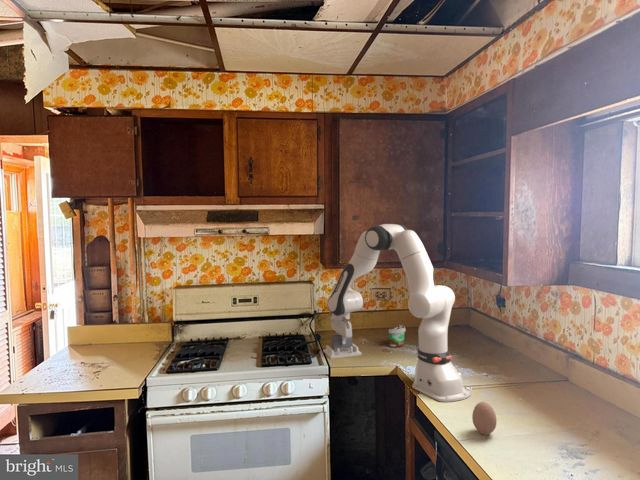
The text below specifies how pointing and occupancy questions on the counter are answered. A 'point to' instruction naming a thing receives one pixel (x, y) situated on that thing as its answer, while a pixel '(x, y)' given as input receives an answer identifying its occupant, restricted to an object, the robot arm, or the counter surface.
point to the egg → (484, 418)
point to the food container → (397, 336)
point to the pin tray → (342, 352)
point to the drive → (337, 342)
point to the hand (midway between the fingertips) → (341, 342)
